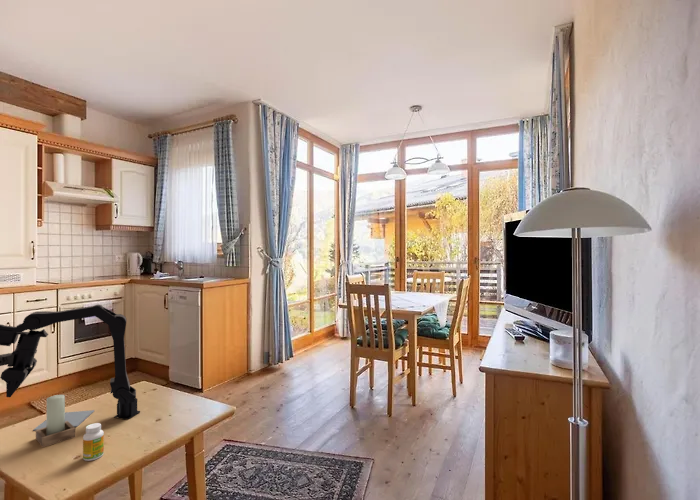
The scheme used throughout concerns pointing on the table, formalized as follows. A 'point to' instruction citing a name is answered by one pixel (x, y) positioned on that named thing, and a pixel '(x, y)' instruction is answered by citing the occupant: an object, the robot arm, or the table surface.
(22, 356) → the robot arm
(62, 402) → the green bottle
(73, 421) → the mat
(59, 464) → the table surface
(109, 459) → the table surface
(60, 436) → the brown square open box
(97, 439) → the supplement bottle
